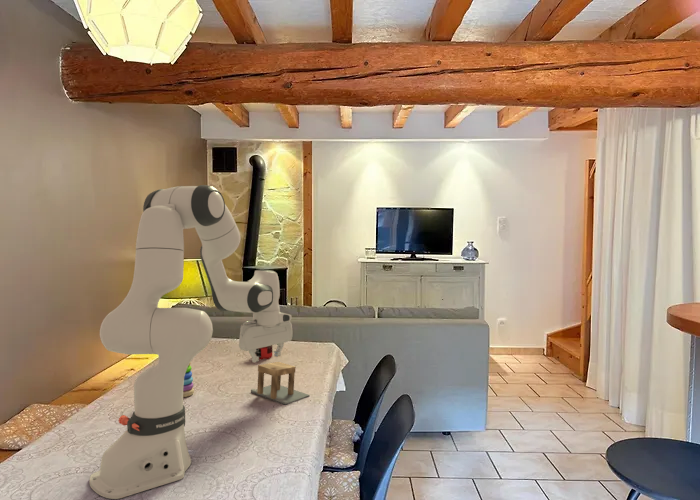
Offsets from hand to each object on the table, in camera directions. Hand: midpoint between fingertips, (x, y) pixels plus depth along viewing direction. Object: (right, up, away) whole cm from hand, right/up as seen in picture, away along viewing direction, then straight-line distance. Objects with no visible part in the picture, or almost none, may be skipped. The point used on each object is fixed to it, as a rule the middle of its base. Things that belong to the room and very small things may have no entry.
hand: (266, 358), depth 167 cm
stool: (0, -8, 0) cm, 8 cm away
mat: (+4, -13, +5) cm, 15 cm away
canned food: (-10, -11, +51) cm, 54 cm away
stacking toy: (-30, -14, +5) cm, 33 cm away
